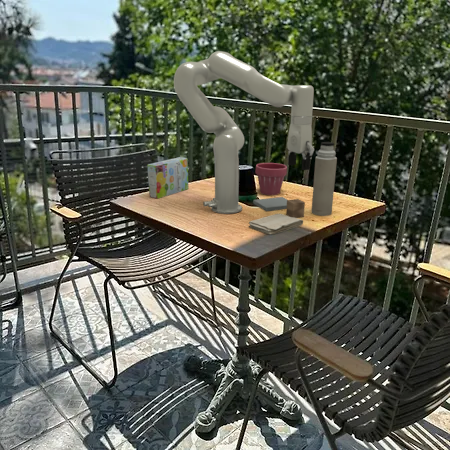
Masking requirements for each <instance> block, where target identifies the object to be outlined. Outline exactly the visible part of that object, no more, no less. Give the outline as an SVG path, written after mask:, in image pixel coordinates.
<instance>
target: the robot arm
mask: <svg viewBox="0 0 450 450" xmlns="http://www.w3.org/2000/svg"><path fill="white" fill-rule="evenodd" d="M219 79H222V80H224V81H227V82H228V83H230V84H232V85H234V86H235V87H238V88H240V89H241V90H243V91H245V92H246V93H248V94H250V95H252V96H253V97H255V98H257V99H259V100H261V101H262V102H264V103H267V104H268V105H270V106H273V107H276V108H282V107H285V106H290V105H291V111H290V112H291V113H290V124H289V129H288V136H287V142H286V147H287V148H286V149H287V154H288V162H287V165H289V166H296V164H297V154H301V155H302V159H301V170H302V171H309V170H310V169H311V160H312V157H313V155H314V151H315V148H314V146H313V145H312V144H313V129H312V125H313V124H312V123H313V107H314V92H315V90H314V87H313V86H312V85H311V84H310V85H309V84H307V85H306V84H304V85H303V84H300V85H299V84H298V85H292V84H291V85H290V84H283V83H282V84H280V83H278V82H276V81H274V80H272V79H270V78H268V77H266V76H264V75H263V74H261V73H260V72H258V71H257V69H256V68H255V67H253V66H252V65H250V64H248V63H246V62H243V61H242V60H240V59H237V58H236V57H234V56H233V55H232V54H231V53H229V52H227V51H222V50H218V51H217V50H216V51H215V52H213V53H211V54H210V56H209V57H208V58H206V59H202V60H199V61H186V62H183V63H181V64H180V65H179V66H178V67H177V69H176V70H175V73H174V76H173V87H174V91H175V94H176V95H177V97H178V98H179V100H180V101H181V103H182V105H184V107H186V109H187V111H188V112H189V113H190V115H191V116H192V117H193V119H194V120H195V122H196V123H197V124H198V125H199V127H200V129H201V130H202V131H204V132H206V133H209V134H212V133H214V135H215V138H214V140H213V144H212V147H213V155H214V156H213V157H214V197H212V199H211V200H210V201H208V200H207V201H203V207H209V208H210V210H211V211H212V212H214V213H218V214H224V215H225V214H228V215H230V214H236V213H240V212H242V210H243V206H242V205H241V204H239V195H240V194H239V187H240V186H239V185H240V183H239V182H240V164H239V163H240V161H239V159H240V158H239V150H241V149H243V147H244V144H245V136H244V134H243V131H242V130H241V128H240V127H239V126H238V125H237V124H236V123H235V121H234V120H233V117H231V115H230V114H229V113H228V112H227V111H226V110H225V109H224V108H222V107H220V106H216V105H215V106H214V105H213V104H212V102H210V100H209V99H208V98H207V96H206V94H204V92H203V91H202V90H201V89H200V88H199V87H198V86H201V85H205V84H207V83H210V82H213V81H217V80H219Z"/></svg>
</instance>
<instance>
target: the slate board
mask: <svg viewBox="0 0 450 450" xmlns="http://www.w3.org/2000/svg"><path fill="white" fill-rule="evenodd" d="M287 200H288V199H287V198H285V197H283V196H277V197H269V198H260V199H253V202H252V203H253V204H254V205H255V206H256V207H258V208H260V209H262V210H263V211H264V212H272V211H273V212H274V211H283V210H286V209H287Z"/></svg>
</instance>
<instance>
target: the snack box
mask: <svg viewBox="0 0 450 450" xmlns="http://www.w3.org/2000/svg"><path fill="white" fill-rule="evenodd" d="M188 165H189V164H188V158H187V157H182V156H181V157H180V156H179V157H176V158H175V157H174V158H170V159H165V160H161V161H156V162H153V163H148V164H147V165H146V167H147V178H148V180H147V181H148V192H149V193H148V194H149V198H152V199H157V200H158V199H162V198H166V197H168V196H171V195H174V194H177V193H181V192H183V191H187V190H189V189H190V188H189V186H190V185H189V168H188V167H189V166H188Z"/></svg>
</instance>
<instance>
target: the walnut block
mask: <svg viewBox="0 0 450 450" xmlns="http://www.w3.org/2000/svg"><path fill="white" fill-rule="evenodd" d="M305 205H306V202H304V201H303V200H302V199H299V198H295V199H287V209H285V211H286V213H285V215H286V216H289V217H293V218H297V219H301V218H304V217H305V208H306V207H305Z"/></svg>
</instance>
